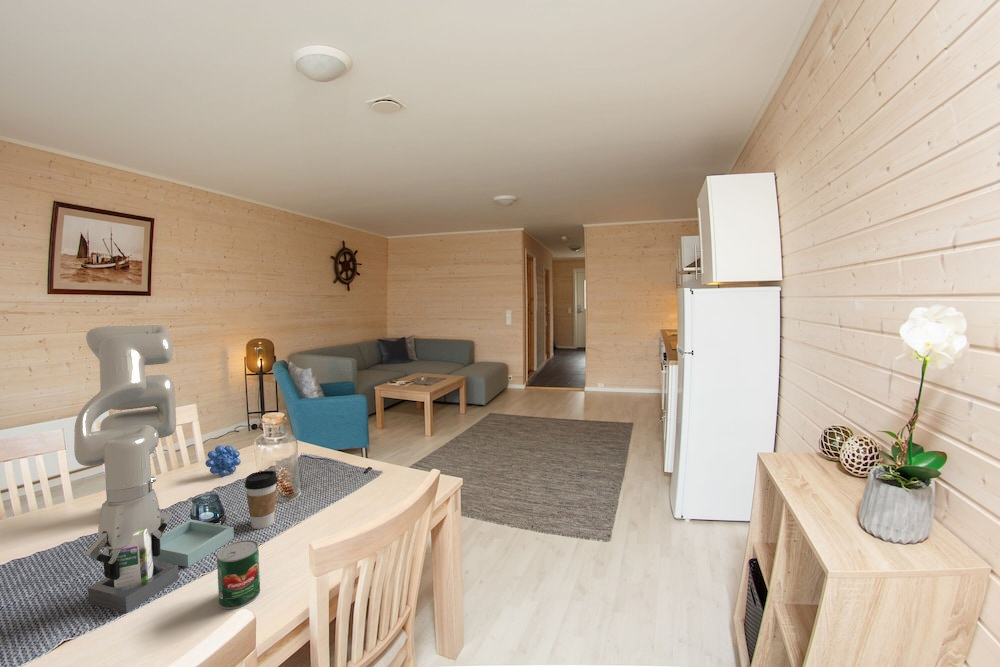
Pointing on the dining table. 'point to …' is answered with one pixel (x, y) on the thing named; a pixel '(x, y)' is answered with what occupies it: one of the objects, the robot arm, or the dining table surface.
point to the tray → (192, 542)
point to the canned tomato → (238, 574)
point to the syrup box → (135, 561)
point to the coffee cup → (261, 498)
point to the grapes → (223, 460)
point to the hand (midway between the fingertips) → (134, 565)
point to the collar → (128, 600)
